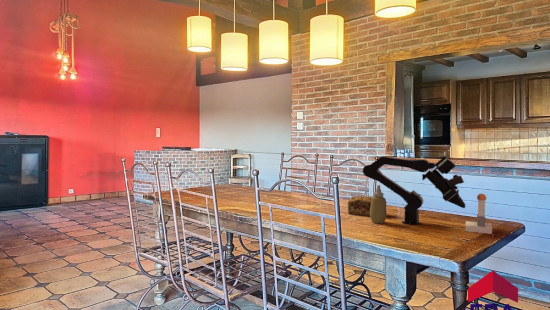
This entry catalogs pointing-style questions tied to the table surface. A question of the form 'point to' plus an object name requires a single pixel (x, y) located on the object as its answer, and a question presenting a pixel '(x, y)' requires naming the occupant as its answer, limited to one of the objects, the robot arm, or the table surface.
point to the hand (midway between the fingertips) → (464, 206)
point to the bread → (359, 205)
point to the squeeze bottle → (378, 207)
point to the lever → (481, 205)
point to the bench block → (479, 226)
